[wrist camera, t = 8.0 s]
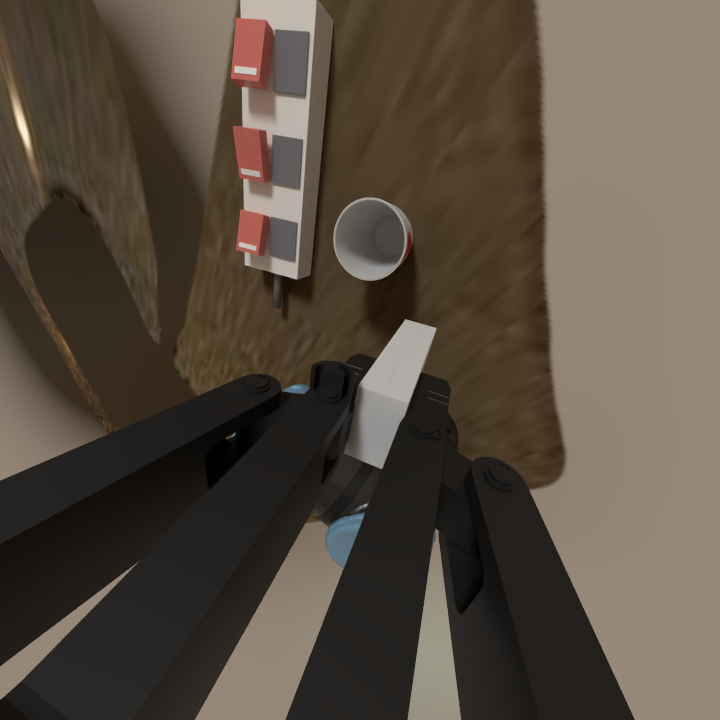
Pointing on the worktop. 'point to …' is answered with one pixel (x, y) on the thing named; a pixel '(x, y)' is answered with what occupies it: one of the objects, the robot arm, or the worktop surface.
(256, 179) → the plate
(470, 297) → the worktop surface
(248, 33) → the block
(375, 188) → the worktop surface
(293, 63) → the power strip
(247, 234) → the rocker
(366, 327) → the worktop surface
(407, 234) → the cup
